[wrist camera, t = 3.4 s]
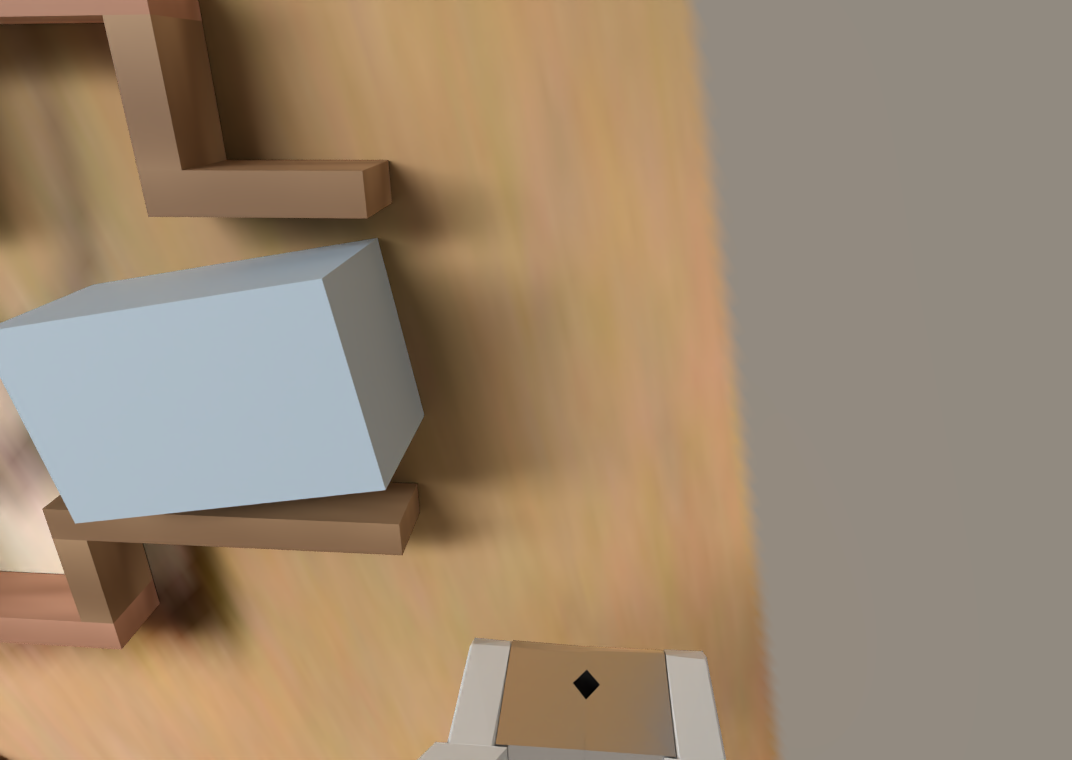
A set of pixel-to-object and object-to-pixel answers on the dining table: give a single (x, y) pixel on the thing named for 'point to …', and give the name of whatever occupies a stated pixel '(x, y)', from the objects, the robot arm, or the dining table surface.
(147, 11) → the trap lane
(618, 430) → the dining table surface
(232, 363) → the brick
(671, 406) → the dining table surface
